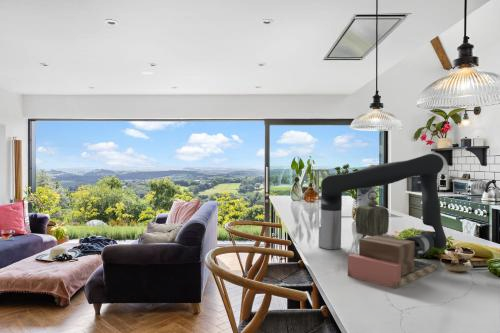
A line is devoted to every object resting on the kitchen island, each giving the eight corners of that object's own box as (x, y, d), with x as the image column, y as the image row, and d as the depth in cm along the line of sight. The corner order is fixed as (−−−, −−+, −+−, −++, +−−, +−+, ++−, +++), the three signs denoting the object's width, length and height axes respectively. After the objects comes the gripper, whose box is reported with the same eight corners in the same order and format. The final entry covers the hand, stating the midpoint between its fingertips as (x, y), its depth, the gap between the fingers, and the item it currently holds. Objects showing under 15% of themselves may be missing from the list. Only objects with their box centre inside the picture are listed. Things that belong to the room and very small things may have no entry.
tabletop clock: (374, 239, 191) (375, 190, 191) (389, 242, 184) (390, 191, 183) (355, 241, 183) (356, 191, 183) (370, 245, 176) (371, 192, 175)
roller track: (391, 260, 150) (391, 242, 150) (436, 269, 137) (436, 250, 137) (347, 275, 128) (348, 255, 128) (396, 288, 116) (396, 266, 116)
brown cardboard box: (376, 261, 138) (376, 235, 138) (414, 270, 128) (414, 241, 128) (358, 267, 130) (359, 239, 130) (397, 277, 120) (398, 246, 120)
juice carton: (376, 231, 212) (377, 183, 211) (371, 234, 203) (372, 184, 203) (360, 229, 217) (361, 183, 216) (355, 232, 208) (355, 184, 207)
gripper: (398, 233, 150) (377, 239, 138) (433, 238, 140) (413, 245, 128) (398, 252, 150) (377, 259, 138) (432, 258, 140) (412, 267, 128)
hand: (394, 252), depth 133 cm, fingers closed
